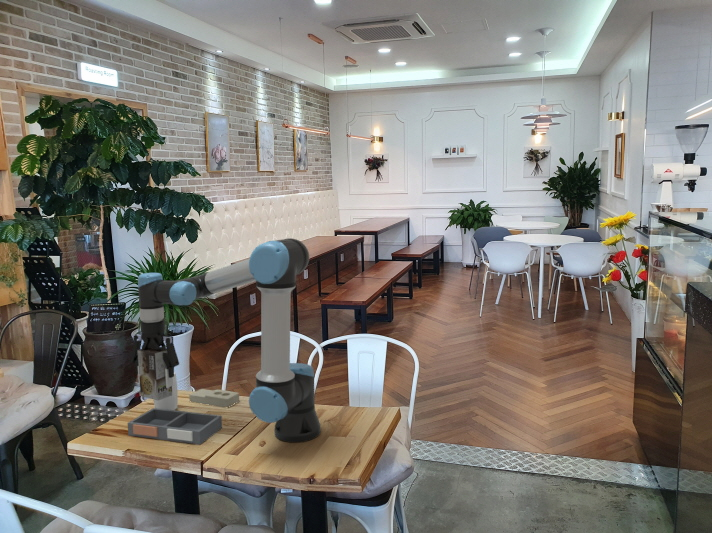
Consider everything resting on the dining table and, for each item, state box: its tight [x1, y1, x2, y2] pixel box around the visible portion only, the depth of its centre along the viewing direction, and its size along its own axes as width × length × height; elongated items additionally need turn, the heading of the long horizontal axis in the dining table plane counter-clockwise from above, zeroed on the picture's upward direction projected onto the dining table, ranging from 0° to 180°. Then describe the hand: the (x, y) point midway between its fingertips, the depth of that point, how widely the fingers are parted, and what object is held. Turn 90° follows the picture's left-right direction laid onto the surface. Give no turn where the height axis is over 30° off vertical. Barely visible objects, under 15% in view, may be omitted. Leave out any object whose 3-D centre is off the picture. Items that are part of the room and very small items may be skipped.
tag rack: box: [127, 407, 223, 445], centre depth 188 cm, size 27×14×4 cm, turn 73°
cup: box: [153, 371, 179, 410], centre depth 205 cm, size 8×8×14 cm
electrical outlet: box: [188, 388, 240, 408], centre depth 215 cm, size 7×4×18 cm
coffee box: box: [138, 348, 172, 401], centre depth 188 cm, size 9×6×16 cm
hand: (155, 385), depth 188 cm, fingers closed on coffee box, 10 cm apart
